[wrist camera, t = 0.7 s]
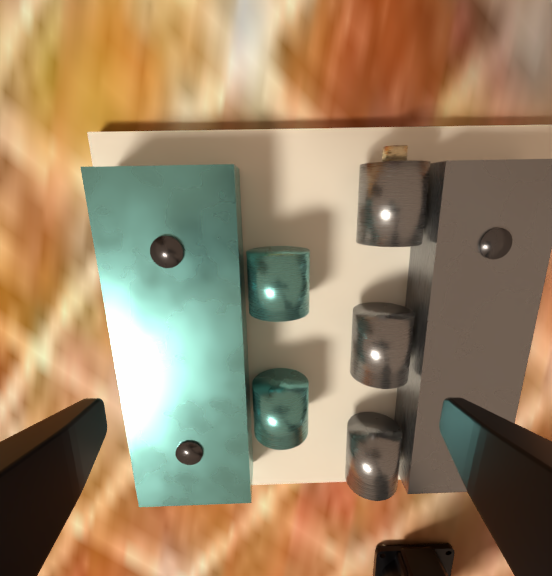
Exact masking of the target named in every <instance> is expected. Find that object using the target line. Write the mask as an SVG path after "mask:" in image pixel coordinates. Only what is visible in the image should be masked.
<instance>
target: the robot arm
mask: <svg viewBox="0 0 552 576" xmlns="http://www.w3.org/2000/svg"><path fill="white" fill-rule="evenodd" d="M439 428H440V432H441V435H442V437H443V439H444V442H445V444H446V446H447V448H448V451H449V453H450V455H451V457H452V460H453V462H454V464H455V466H456V468H457V471H458V473H459V475H460V477H461V480H462V482H463V484H464V486H465V488H466V490H467V492H468V494H469V496H470V497H471V499H472V501H473V503H474V505H475V506H476V508H477V510H478V512H479V513H480V515H481V517H482V519H483V520H484V522H485V524H486V526H487V528H488V529H489V531H490V533H491V535H492V536H493V538H494V540H495V542H496V543H497V545H498V547H499V549H500V551H501V552H502V554H503V556H504V558H505V559H506V561H507V563H508V565H509V566H510V568H511V570H512V572H513V574H514V575H515V576H552V442H551V441H549V440H547V439H545V438H543V437H541V436H539V435H537V434H535V433H533V432H531V431H529V430H527V429H525V428H523V427H521V426H519V425H517V424H515V423H513V422H511V421H509V420H507V419H504V418H502V417H500V416H498V415H496V414H494V413H492V412H490V411H488V410H486V409H484V408H482V407H480V406H478V405H476V404H474V403H472V402H470V401H468V400H466V399H464V398H460V397H448V398H446V399H444V401H443V405H442V411H441V416H440V422H439ZM106 432H107V421H106V414H105V408H104V403H103V401H102V400H101V399H98V398H97V399H83V400H81V401H79V402H77V403H75V404H73V405H71V406H69V407H67V408H65V409H64V410H62V411H60V412H58V413H56V414H54V415H52V416H50V417H48V418H46V419H44V420H42V421H40V422H38V423H36V424H34V425H32V426H30V427H28V428H27V429H25V430H23V431H21V432H19V433H17V434H15V435H13V436H11V437H9V438H7V439H5V440H3V441H1V442H0V576H37V575H38V573H39V571H40V570H41V568H42V566H43V564H44V562H45V560H46V558H47V556H48V555H49V553H50V551H51V549H52V547H53V545H54V543H55V542H56V540H57V538H58V536H59V534H60V532H61V530H62V529H63V527H64V525H65V523H66V521H67V519H68V517H69V516H70V514H71V512H72V510H73V508H74V506H75V504H76V502H77V500H78V498H79V496H80V495H81V492H82V490H83V488H84V486H85V483H86V481H87V479H88V476H89V474H90V472H91V469H92V467H93V464H94V462H95V460H96V457H97V455H98V452H99V450H100V448H101V445H102V443H103V440H104V438H105V435H106ZM453 558H454V550H453V548H452V546H451V545H450V544H424V545H400V546H380V547H378V548H376V550H375V557H374V569H373V576H450V575H451V570H452V564H453Z"/></svg>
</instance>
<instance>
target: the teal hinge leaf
mask: <svg viewBox="0 0 552 576" xmlns="http://www.w3.org/2000/svg"><path fill="white" fill-rule="evenodd" d="M81 172H82V178H83V184H84V190H85V195H86V201H87V207H88V213H89V219H90V225H91V230H92V236H93V242H94V248H95V254H96V259H97V265H98V271H99V277H100V283H101V289H102V294H103V300H104V306H105V312H106V318H107V323H108V329H109V335H110V341H111V347H112V352H113V358H114V364H115V370H116V376H117V382H118V387H119V393H120V399H121V405H122V411H123V416H124V422H125V428H126V434H127V440H128V445H129V451H130V457H131V463H132V469H133V475H134V480H135V486H136V492H137V498H138V504H139V507H155V506H181V505H207V504H233V503H251V499H252V479H253V450H252V429H251V407H250V386H249V365H248V344H247V322H246V301H245V280H244V259H243V238H242V216H241V195H240V174H239V168H238V167H237V166H236V165H234V164H213V165H159V166H104V167H81ZM246 256H247V279H248V301H249V314H250V315H251V316H252V317H254V318H256V319H259V320H263V321H270V322H285V321H293V320H297V319H300V318H303V317H305V316H306V315H308V313H309V294H310V250H309V249H307V248H303V247H295V246H267V247H258V248H253V249H250V250H247V251H246ZM252 391H253V413H254V434H255V437H256V439H257V440H258V441H259V442H260V443H261V444H262V445H264V446H265V447H268V448H271V449H275V450H287V449H291V448H294V447H297V446H299V445H300V444H301V443H303V442H304V441H305V439H306V438H307V435H308V403H309V382H308V379H307V377H306V376H305V375H304V374H302V373H301V372H299V371H296V370H293V369H288V368H274V369H269V370H266V371H263V372H261V373H259V374H258V375H257V376H256V377H255V378H254V379H253V382H252Z"/></svg>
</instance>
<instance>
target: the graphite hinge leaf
mask: <svg viewBox="0 0 552 576" xmlns="http://www.w3.org/2000/svg"><path fill="white" fill-rule="evenodd" d="M407 153H408V146H407V145H393V146H385V147H383V152H382V162H373V163H365V164H361V165H360V169H359V190H358V211H357V232H356V242H357V243H359V244H362V245H368V246H378V247H410V246H411V248H410V259H409V270H408V280H407V291H406V302H405V307H404V306H401V305H397V304H392V303H385V302H368V303H362V304H359V305H356V306H355V307H354V308H353V316H352V337H351V358H350V373H351V375H352V377H353V378H354V379H355V380H357V381H358V382H360V383H362V384H364V385H366V386H369V387H373V388H379V389H394V388H397V398H396V408H395V419H394V420H393V419H391V418H390V417H388V416H386V415H383V414H380V413H376V412H360V413H357V414H355V415H353V416H352V417H351V418H350V419H349V420H348V423H347V442H346V463H345V479H346V482H347V484H348V485H349V487H350V488H351V489H352V490H353V491H354V492H355V493H356V494H358V495H359V496H361V497H363V498H365V499H369V500H374V501H381V500H386V499H388V498H390V497H392V496H393V495H394V493H395V492H396V489H397V483H398V474H399V476H400V479H401V481H402V483H403V485H404V487H405V489H406V491H407V493H408V494H420V493H446V492H467V490H466V488H465V486H464V484H463V482H462V480H461V477H460V475H459V473H458V471H457V468H456V466H455V464H454V462H453V460H452V457H451V455H450V453H449V451H448V448H447V446H446V444H445V442H444V439H443V437H442V435H441V432H440V428H439V422H440V416H441V411H442V405H443V401H444V399H446V398H448V397H460V398H464V399H466V400H468V401H470V402H472V403H474V404H476V405H478V406H480V407H482V408H484V409H486V410H488V411H490V412H492V413H494V414H496V415H498V416H500V417H502V418H504V419H507V420H509V421H511V422H513V423H515V418H516V413H517V409H518V404H519V399H520V394H521V390H522V385H523V380H524V376H525V371H526V366H527V362H528V357H529V352H530V347H531V343H532V338H533V333H534V329H535V324H536V319H537V314H538V310H539V305H540V300H541V296H542V291H543V286H544V282H545V277H546V272H547V267H548V263H549V258H550V253H551V249H552V159H507V160H452V161H441V162H436V163H431V162H430V161H407Z"/></svg>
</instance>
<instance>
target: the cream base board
mask: <svg viewBox="0 0 552 576" xmlns="http://www.w3.org/2000/svg"><path fill="white" fill-rule="evenodd" d="M87 133H88V139H89V145H90V151H91V158H92V164H93V167H104V166H159V165H213V164H234V165H236V166H237V167H238V168H239V174H240V195H241V216H242V238H243V259H244V280H245V301H246V322H247V344H248V365H249V386H250V407H251V429H252V450H253V479H252V485H265V484H292V483H319V482H346V479H345V463H346V442H347V423H348V420H349V419H350V418H351V417H352V416H353V415H355V414H357V413H360V412H376V413H380V414H383V415H386V416H388V417H390V418H391V419H393V420H394V419H395V408H396V398H397V388H394V389H379V388H373V387H369V386H366V385H364V384H362V383H360V382H358V381H357V380H355V379H354V378H353V377H352V375H351V373H350V358H351V337H352V316H353V308H354V307H355V306H356V305H359V304H362V303H368V302H385V303H392V304H397V305H401V306H404V307H405V302H406V291H407V280H408V270H409V259H410V248H411V246H410V247H378V246H368V245H362V244H359V243H357V242H356V232H357V211H358V190H359V169H360V165H361V164H365V163H373V162H382V152H383V147H385V146H393V145H407V146H408V153H407V161H430V162H431V163H436V162H441V161H452V160H507V159H552V125H491V126H429V127H368V128H306V129H245V130H183V131H121V132H87ZM267 246H295V247H303V248H307V249H309V250H310V294H309V313H308V315H306V316H305V317H303V318H300V319H297V320H293V321H285V322H270V321H263V320H259V319H256V318H254V317H252V316H251V315H250V314H249V301H248V279H247V256H246V251H247V250H250V249H253V248H258V247H267ZM274 368H288V369H293V370H296V371H299V372H301V373H302V374H304V375H305V376H306V377H307V379H308V382H309V403H308V435H307V438H306V439H305V441H304V442H303V443H301V444H300V445H299V446H297V447H294V448H291V449H287V450H275V449H271V448H268V447H265V446H264V445H262V444H261V443H260V442H259V441H258V440H257V439H256V437H255V434H254V413H253V391H252V382H253V379H254V378H255V377H256V376H257V375H258V374H259V373H261V372H263V371H266V370H269V369H274ZM399 479H400V476H399V474H398V480H399Z"/></svg>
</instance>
